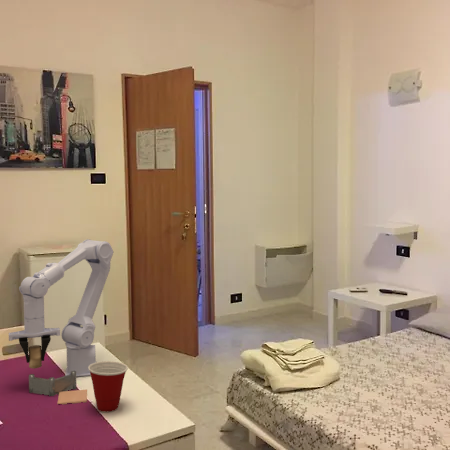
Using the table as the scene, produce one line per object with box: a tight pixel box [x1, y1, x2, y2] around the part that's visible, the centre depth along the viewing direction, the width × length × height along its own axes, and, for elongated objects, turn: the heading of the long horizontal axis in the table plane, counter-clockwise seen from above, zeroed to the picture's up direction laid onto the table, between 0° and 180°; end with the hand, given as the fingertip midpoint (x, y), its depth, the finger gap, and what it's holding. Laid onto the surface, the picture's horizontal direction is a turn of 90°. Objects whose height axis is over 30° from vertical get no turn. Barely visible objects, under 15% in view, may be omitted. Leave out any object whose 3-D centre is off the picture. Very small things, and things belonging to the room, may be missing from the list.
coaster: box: [57, 389, 88, 405], centre depth 153 cm, size 8×8×1 cm
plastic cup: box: [88, 360, 129, 413], centre depth 146 cm, size 11×11×12 cm
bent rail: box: [28, 371, 77, 397], centre depth 156 cm, size 14×6×5 cm, turn 104°
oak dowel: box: [28, 344, 43, 369], centre depth 159 cm, size 4×4×6 cm
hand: (35, 360), depth 159 cm, fingers closed on oak dowel, 4 cm apart
